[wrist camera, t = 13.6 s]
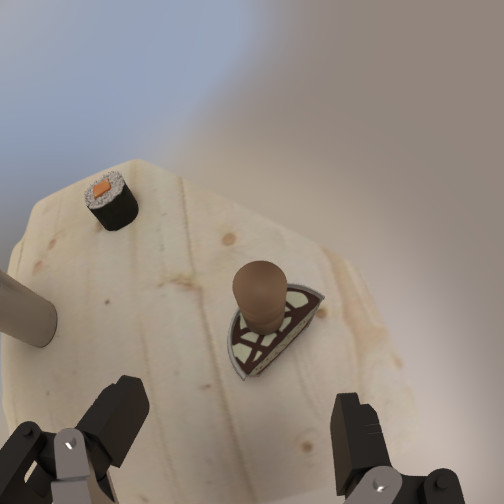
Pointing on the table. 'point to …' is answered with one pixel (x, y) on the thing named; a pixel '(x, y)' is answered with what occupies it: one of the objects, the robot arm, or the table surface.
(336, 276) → the table surface
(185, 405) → the table surface
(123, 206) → the sushi
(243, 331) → the food container
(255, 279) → the walnut cylinder
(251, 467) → the table surface
